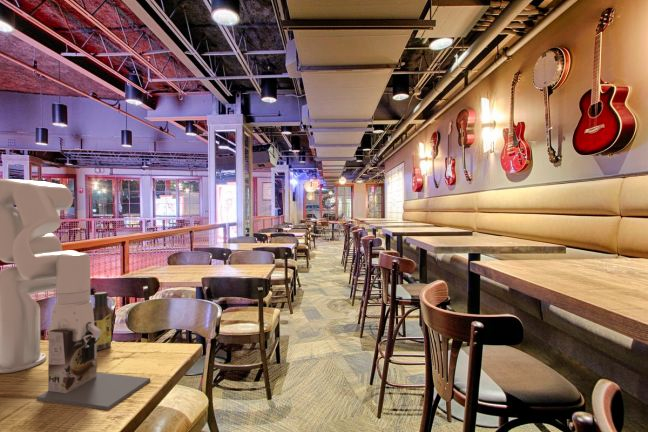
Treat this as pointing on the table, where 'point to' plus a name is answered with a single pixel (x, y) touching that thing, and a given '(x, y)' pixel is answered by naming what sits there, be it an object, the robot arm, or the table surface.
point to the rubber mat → (98, 391)
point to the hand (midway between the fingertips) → (73, 359)
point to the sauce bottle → (102, 319)
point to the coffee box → (68, 362)
